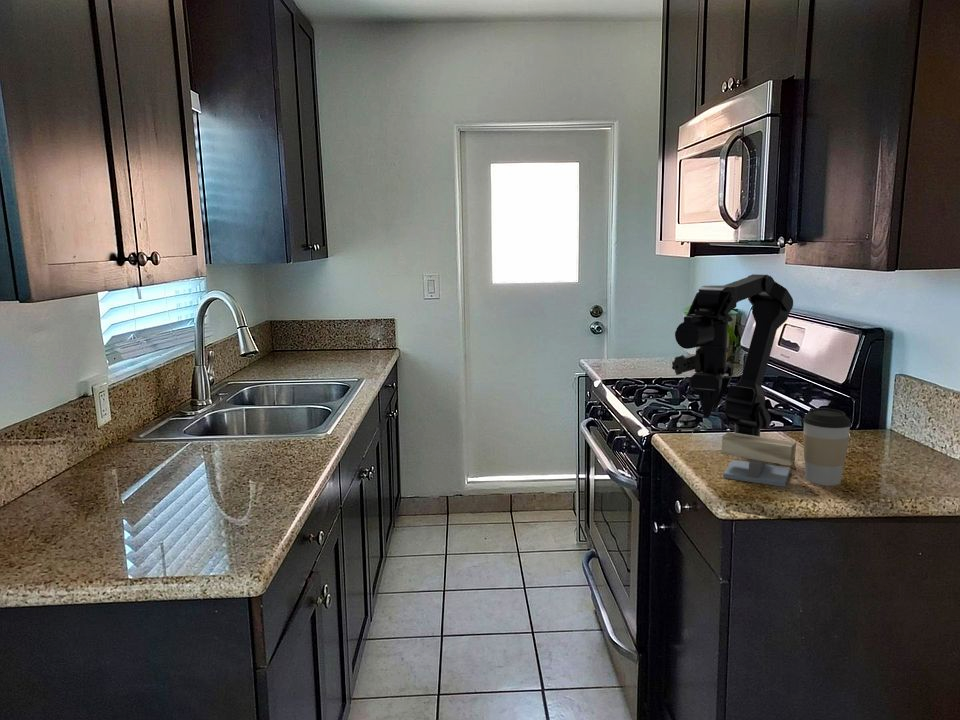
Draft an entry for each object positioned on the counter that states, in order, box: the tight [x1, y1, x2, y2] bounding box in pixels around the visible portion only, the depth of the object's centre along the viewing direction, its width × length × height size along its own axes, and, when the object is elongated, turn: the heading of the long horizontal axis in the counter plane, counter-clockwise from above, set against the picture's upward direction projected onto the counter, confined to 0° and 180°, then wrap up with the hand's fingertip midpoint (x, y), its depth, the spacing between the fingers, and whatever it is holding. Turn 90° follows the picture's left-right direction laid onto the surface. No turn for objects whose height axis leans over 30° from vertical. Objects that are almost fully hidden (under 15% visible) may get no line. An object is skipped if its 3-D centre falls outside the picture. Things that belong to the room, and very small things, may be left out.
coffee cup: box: [802, 407, 852, 487], centre depth 141 cm, size 9×9×15 cm
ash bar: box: [721, 431, 797, 466], centre depth 145 cm, size 4×14×4 cm, turn 52°
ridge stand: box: [722, 459, 791, 488], centre depth 146 cm, size 10×12×4 cm
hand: (710, 412), depth 152 cm, fingers open, 9 cm apart
